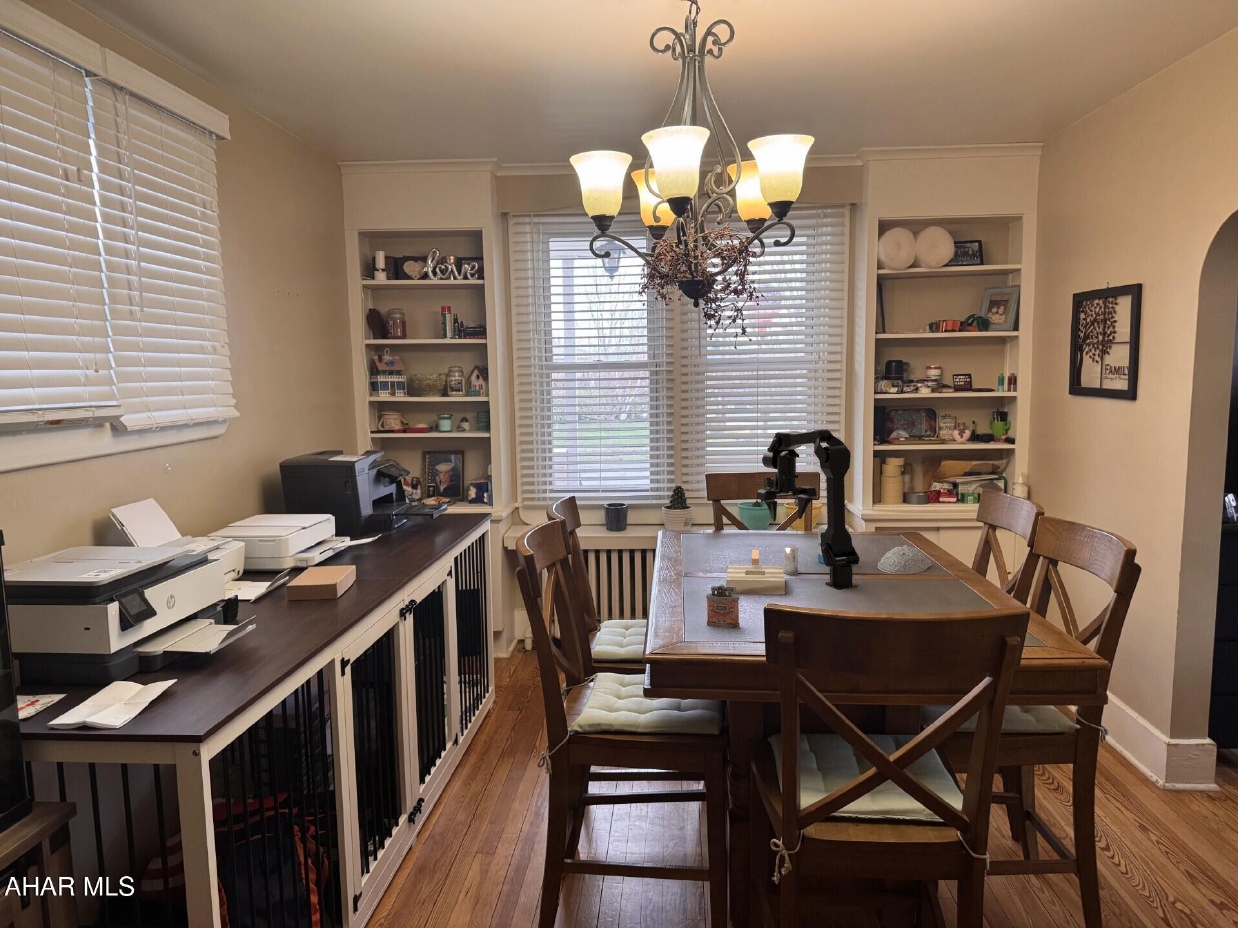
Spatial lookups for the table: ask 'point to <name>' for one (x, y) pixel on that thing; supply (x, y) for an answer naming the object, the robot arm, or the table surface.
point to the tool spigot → (791, 561)
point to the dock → (756, 579)
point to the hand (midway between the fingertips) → (787, 520)
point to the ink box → (820, 530)
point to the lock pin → (755, 557)
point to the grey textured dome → (904, 561)
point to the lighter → (723, 607)
